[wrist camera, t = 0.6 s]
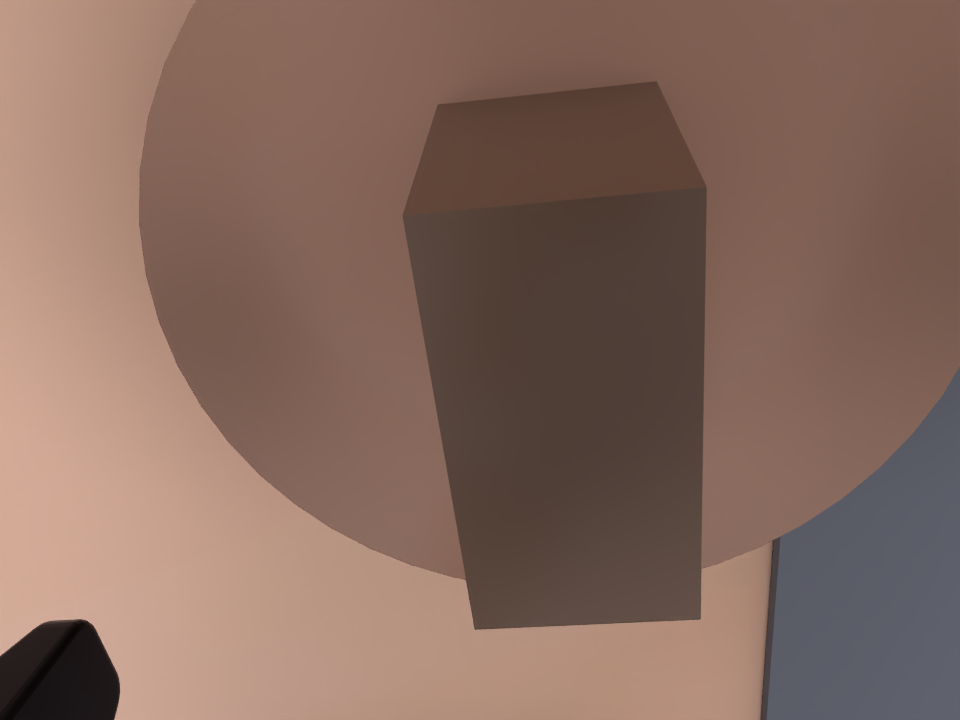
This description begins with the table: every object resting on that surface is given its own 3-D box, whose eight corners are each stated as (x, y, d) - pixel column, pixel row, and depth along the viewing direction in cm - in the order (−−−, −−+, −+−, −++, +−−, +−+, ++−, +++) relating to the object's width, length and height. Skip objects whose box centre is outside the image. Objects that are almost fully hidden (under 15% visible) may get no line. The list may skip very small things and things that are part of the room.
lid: (918, 534, 17) (1045, 771, 13) (270, 569, 19) (193, 793, 14) (1068, -284, 11) (1432, -351, 6) (37, -139, 12) (-237, -111, 8)
